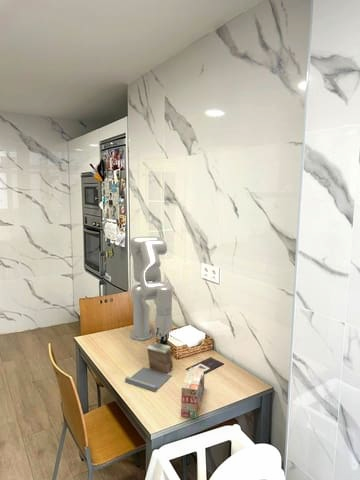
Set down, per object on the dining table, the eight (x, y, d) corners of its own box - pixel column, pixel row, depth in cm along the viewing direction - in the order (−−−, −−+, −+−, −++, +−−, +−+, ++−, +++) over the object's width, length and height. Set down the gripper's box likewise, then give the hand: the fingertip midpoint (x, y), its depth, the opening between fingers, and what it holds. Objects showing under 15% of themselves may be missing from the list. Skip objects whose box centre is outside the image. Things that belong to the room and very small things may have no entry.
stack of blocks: (190, 386, 153) (190, 360, 152) (204, 388, 152) (205, 362, 150) (180, 416, 133) (181, 387, 131) (197, 419, 131) (197, 389, 130)
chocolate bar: (224, 363, 173) (199, 376, 161) (223, 365, 173) (199, 377, 161) (210, 357, 180) (185, 368, 168) (210, 358, 180) (185, 370, 168)
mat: (143, 367, 169) (143, 363, 169) (172, 376, 162) (172, 372, 161) (125, 382, 156) (125, 378, 155) (155, 392, 148) (155, 387, 148)
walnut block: (155, 362, 173) (152, 341, 169) (172, 367, 168) (170, 346, 164) (149, 368, 168) (147, 347, 165) (167, 373, 164) (165, 352, 160)
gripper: (165, 305, 174) (164, 340, 177) (149, 314, 161) (148, 351, 164) (178, 308, 171) (177, 343, 173) (162, 317, 158) (162, 355, 160)
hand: (163, 347), depth 169 cm, fingers closed
